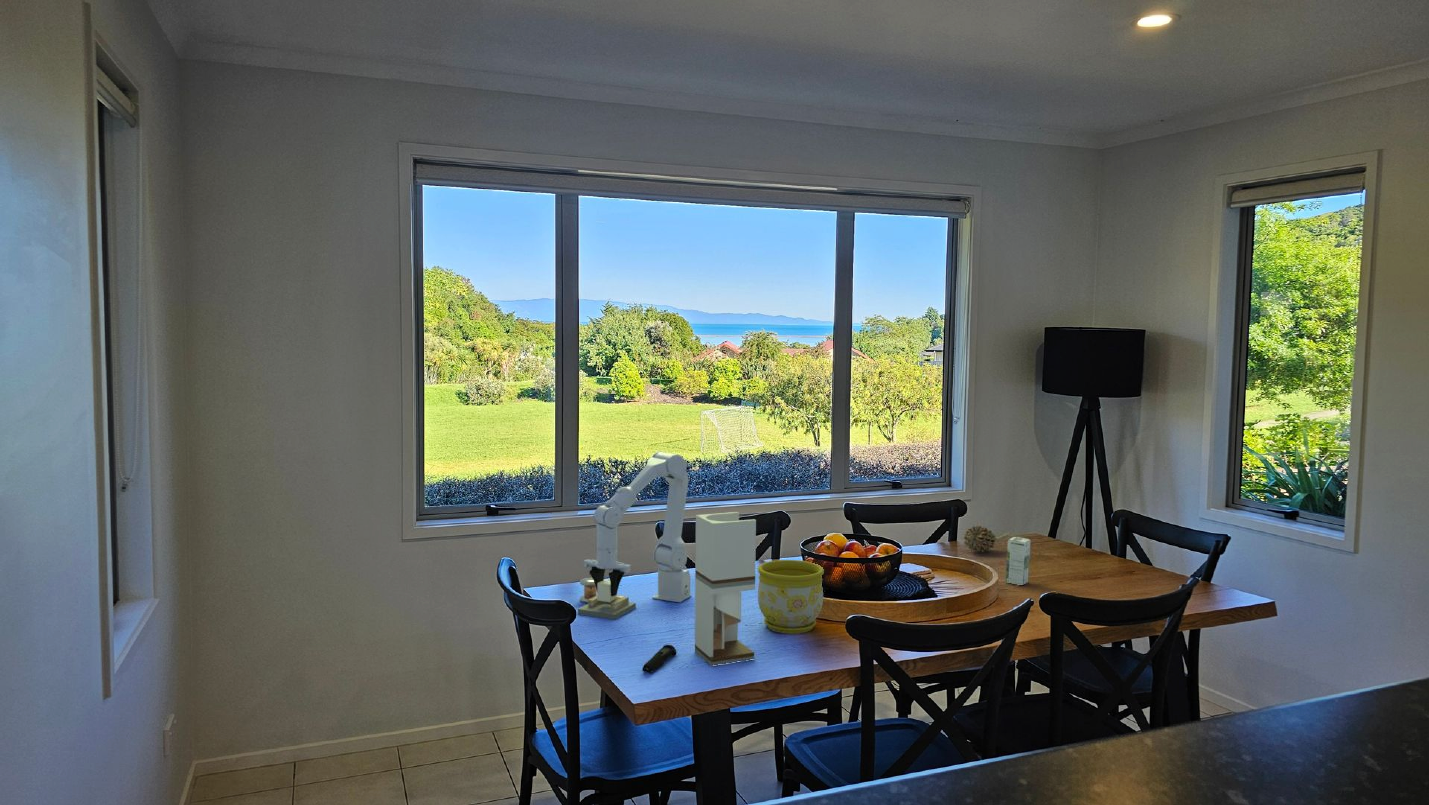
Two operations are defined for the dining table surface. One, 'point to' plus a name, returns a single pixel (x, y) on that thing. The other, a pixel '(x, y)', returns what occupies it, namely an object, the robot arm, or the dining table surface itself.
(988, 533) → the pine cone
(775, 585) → the flowerpot
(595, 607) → the notched board
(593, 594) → the bobbin spool
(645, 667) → the electric trimmer
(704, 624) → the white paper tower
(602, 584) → the block
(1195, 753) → the dining table surface
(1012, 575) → the syrup box
